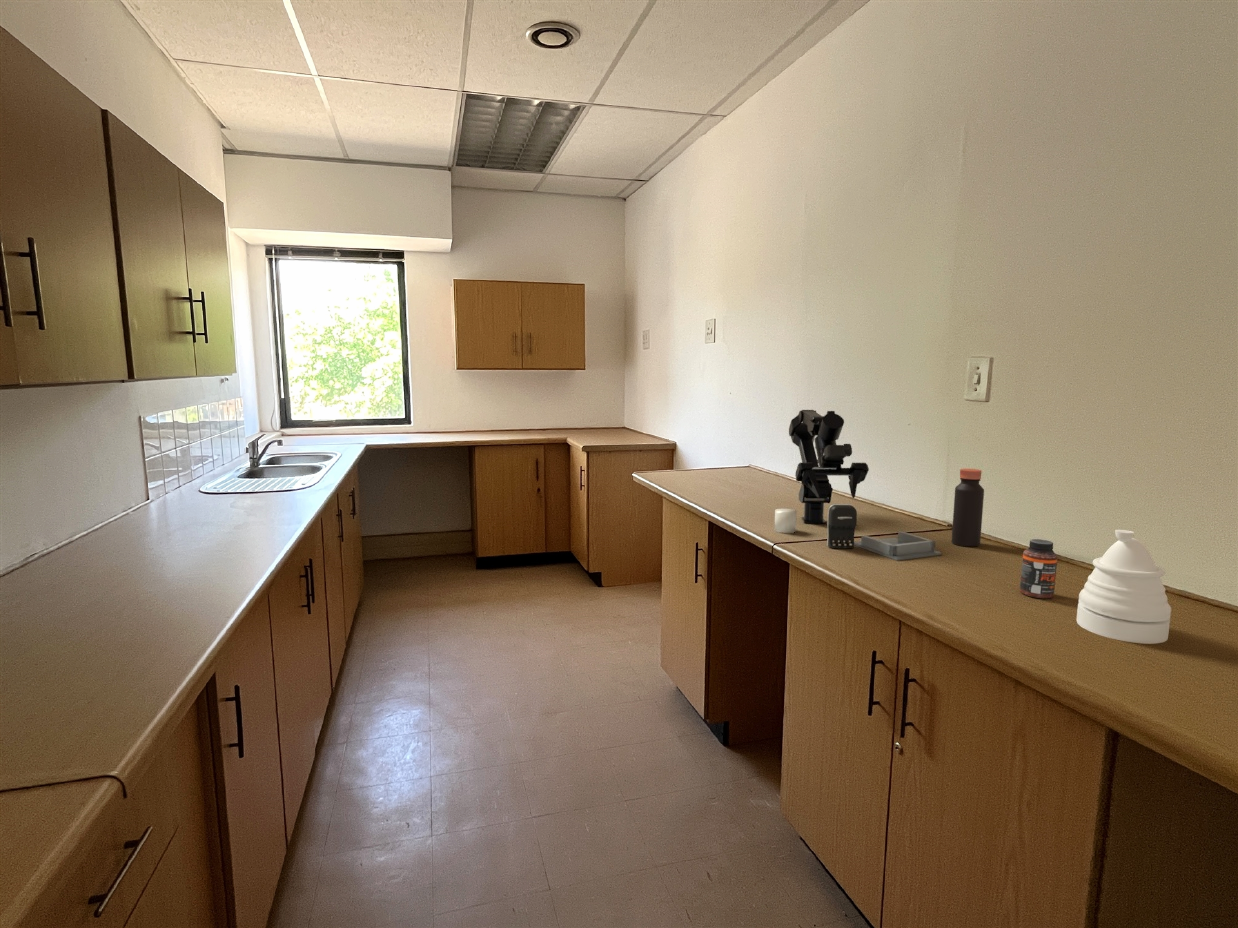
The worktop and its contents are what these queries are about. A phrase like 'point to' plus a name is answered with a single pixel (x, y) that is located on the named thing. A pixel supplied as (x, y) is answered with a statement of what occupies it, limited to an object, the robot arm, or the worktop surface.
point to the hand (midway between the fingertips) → (836, 497)
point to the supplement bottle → (1039, 569)
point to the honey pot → (1125, 595)
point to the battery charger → (841, 526)
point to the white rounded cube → (785, 520)
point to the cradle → (900, 546)
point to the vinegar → (968, 509)
